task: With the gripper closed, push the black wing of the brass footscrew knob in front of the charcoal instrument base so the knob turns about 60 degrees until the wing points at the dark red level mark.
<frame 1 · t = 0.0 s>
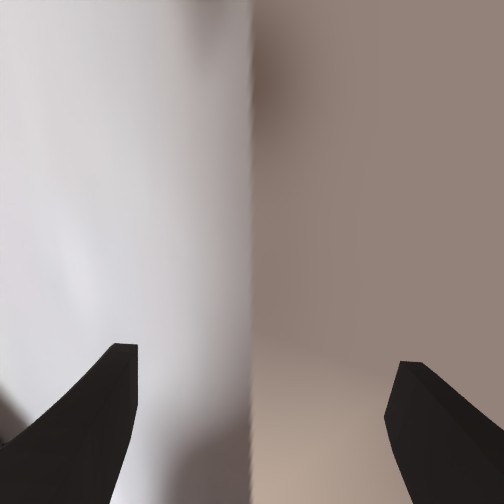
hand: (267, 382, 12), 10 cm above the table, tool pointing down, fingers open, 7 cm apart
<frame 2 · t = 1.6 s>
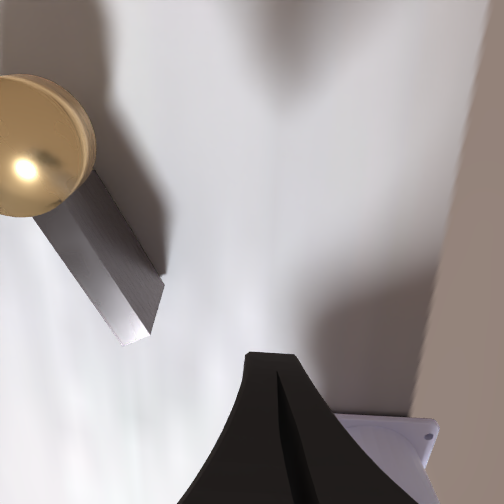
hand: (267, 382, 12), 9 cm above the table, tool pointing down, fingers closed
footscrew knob: (78, 210, 17), point 2 cm above the table, hinge at 0.0°
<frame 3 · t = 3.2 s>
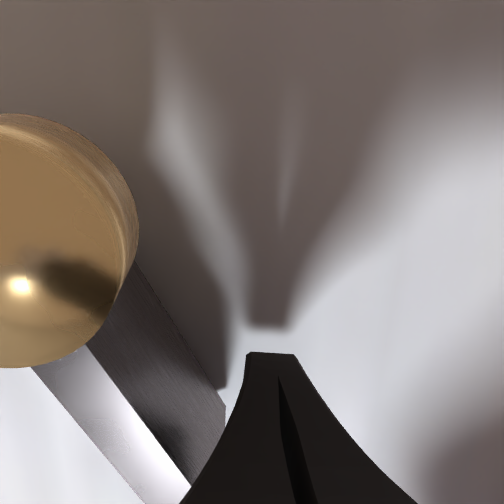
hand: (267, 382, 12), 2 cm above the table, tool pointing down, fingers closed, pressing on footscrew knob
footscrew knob: (107, 326, 11), point 2 cm above the table, hinge at 0.0°, touching gripper
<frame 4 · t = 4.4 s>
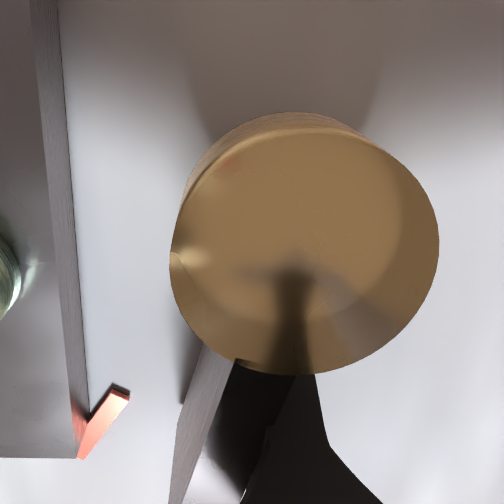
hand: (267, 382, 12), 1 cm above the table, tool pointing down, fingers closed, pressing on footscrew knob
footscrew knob: (246, 336, 10), point 2 cm above the table, hinge at -41.9°, touching gripper
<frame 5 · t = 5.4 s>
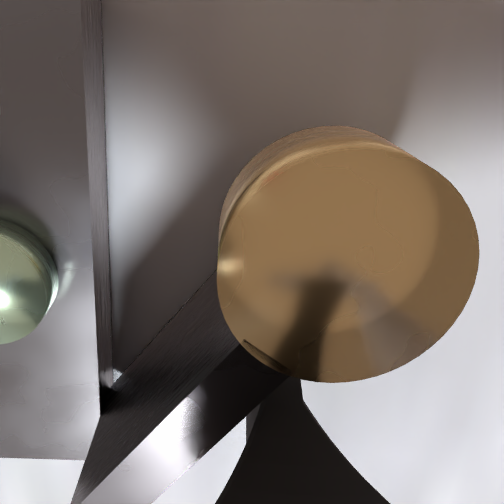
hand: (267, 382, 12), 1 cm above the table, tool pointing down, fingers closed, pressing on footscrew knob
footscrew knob: (235, 325, 10), point 2 cm above the table, hinge at -64.3°, touching gripper, instrument base
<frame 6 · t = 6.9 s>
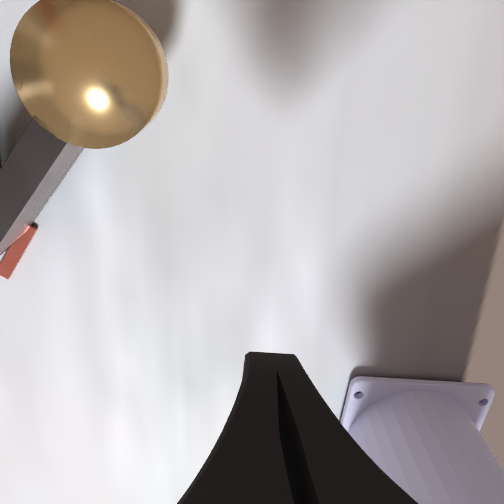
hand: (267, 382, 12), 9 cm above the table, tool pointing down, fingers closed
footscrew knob: (59, 138, 16), point 2 cm above the table, hinge at -64.1°
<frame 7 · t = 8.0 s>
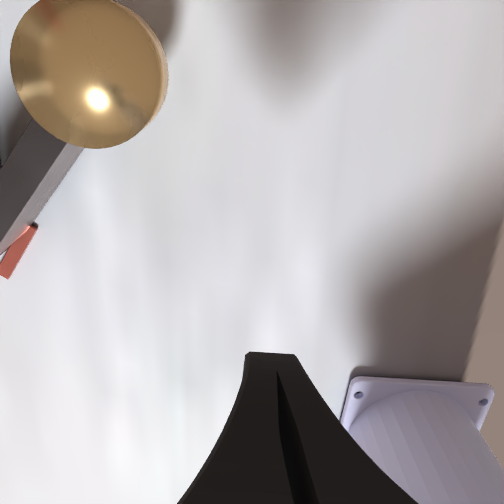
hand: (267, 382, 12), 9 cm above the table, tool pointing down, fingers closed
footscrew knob: (59, 138, 16), point 2 cm above the table, hinge at -64.1°
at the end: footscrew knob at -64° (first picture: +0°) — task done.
